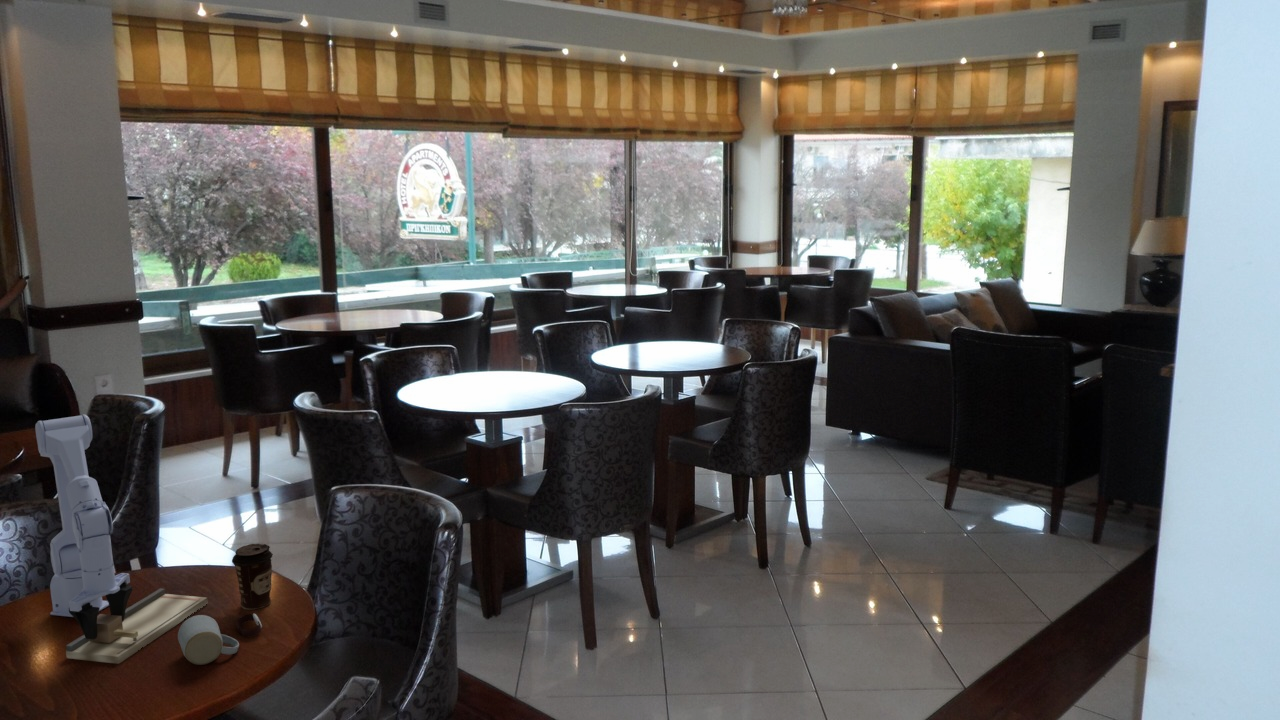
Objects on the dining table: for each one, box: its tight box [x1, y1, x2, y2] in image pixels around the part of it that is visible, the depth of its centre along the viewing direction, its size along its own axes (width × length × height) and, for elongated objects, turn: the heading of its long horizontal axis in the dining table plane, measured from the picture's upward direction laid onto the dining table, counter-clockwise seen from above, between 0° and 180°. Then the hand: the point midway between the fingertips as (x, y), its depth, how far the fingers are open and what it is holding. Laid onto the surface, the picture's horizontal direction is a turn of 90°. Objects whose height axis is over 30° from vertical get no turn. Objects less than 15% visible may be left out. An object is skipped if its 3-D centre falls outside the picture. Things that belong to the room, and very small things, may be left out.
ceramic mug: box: [177, 614, 240, 666], centre depth 200 cm, size 11×8×8 cm
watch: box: [236, 613, 263, 638], centre depth 211 cm, size 8×5×4 cm, turn 38°
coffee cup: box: [231, 543, 274, 611], centre depth 223 cm, size 9×8×13 cm
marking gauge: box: [88, 613, 138, 643], centre depth 204 cm, size 10×4×4 cm, turn 78°
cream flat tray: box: [65, 587, 209, 664], centre depth 212 cm, size 12×28×3 cm, turn 168°
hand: (105, 629), depth 204 cm, fingers open, 7 cm apart
